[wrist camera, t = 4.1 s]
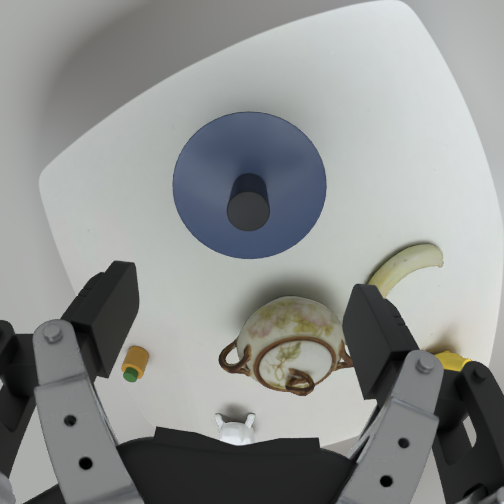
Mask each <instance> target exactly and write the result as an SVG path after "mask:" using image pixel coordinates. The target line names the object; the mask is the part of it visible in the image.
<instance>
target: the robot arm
mask: <svg viewBox="0 0 504 504" xmlns="http://www.w3.org/2000/svg"><path fill="white" fill-rule="evenodd" d="M138 309H139V291H138V282H137V273H136V266H135V264H134V263H133V262H124V261H113V262H112V264H111V265H110V266H109V268H108V269H107V270H106V272H105V273H104V272H100V273H98V274H97V275H95V276H94V277H92V278H91V279H90V280H89V281H88V282H87V283H86V285H85V286H84V287H83V289H82V290H81V291H80V292H79V294H78V296H76V298H75V299H74V300H73V302H72V303H71V305H70V306H69V307H68V309H67V310H66V312H65V313H64V314H63V315H62V317H61V319H55V320H50V321H47V322H44V323H43V324H41V325H40V326H39V327H38V328H37V329H36V330H35V332H34V334H15V332H14V329H13V327H12V325H11V324H10V323H9V322H8V321H4V320H0V379H1V380H2V382H3V386H2V388H1V390H0V504H15V502H16V500H15V496H14V495H13V493H12V492H13V491H12V486H11V483H10V482H9V480H8V479H9V476H10V473H11V470H12V467H13V464H14V461H15V458H16V455H17V452H18V449H19V447H20V444H21V441H22V439H23V436H24V433H25V431H26V428H27V426H28V423H29V421H30V418H31V416H32V414H33V411H34V409H35V407H36V405H37V410H38V414H39V419H40V423H41V427H42V431H43V435H44V439H45V443H46V446H47V450H48V453H49V456H50V460H51V463H52V466H53V469H54V472H55V475H56V478H57V481H58V484H56V485H55V486H53V487H51V488H50V489H48V490H46V491H44V492H43V493H41V494H39V495H38V496H36V497H34V498H32V499H30V500H29V501H27V502H25V503H23V504H410V502H411V500H412V498H413V495H414V493H415V491H416V488H417V486H418V483H419V481H420V478H421V476H422V473H423V470H424V468H425V464H426V462H427V459H428V456H429V453H430V450H431V447H432V450H433V454H434V457H435V461H436V465H437V468H438V472H439V476H440V480H441V484H442V488H443V493H444V497H445V501H446V504H504V395H503V393H502V391H501V389H500V387H499V385H498V384H497V382H496V380H495V378H494V376H493V374H492V373H491V371H490V370H489V369H488V368H487V367H486V366H485V365H483V364H482V363H480V362H477V361H469V362H467V363H465V365H464V366H463V368H462V369H461V371H460V372H459V371H454V370H448V369H443V366H442V364H441V362H440V361H439V359H438V358H437V357H436V356H434V355H433V354H431V353H429V352H427V351H423V350H420V349H419V347H418V345H417V343H416V342H415V340H414V338H413V336H412V334H411V333H410V331H409V329H408V327H407V326H405V322H404V320H403V318H401V315H400V313H399V311H398V310H397V308H396V307H395V306H394V305H393V304H392V303H391V302H390V301H389V300H387V299H384V298H383V297H382V295H381V293H380V291H379V290H378V288H377V286H376V285H368V284H355V286H354V287H353V290H352V293H351V296H350V299H349V302H348V305H347V308H346V311H345V314H344V317H343V323H342V329H343V334H344V337H345V340H346V343H347V346H348V349H349V353H350V356H351V359H352V362H353V365H354V368H355V372H356V375H357V378H358V381H359V385H360V388H361V391H362V395H363V398H364V400H368V399H376V400H377V403H378V404H377V405H376V407H375V408H374V410H373V412H372V414H371V415H370V417H369V419H368V421H367V423H366V425H365V427H364V428H363V430H362V432H361V434H360V436H359V437H358V439H357V441H356V443H355V444H354V446H353V447H352V449H351V450H350V452H349V453H348V455H347V456H346V457H345V456H343V455H341V454H338V453H336V452H334V451H330V450H327V449H323V448H320V444H319V438H279V439H274V440H269V441H264V442H258V443H253V444H247V445H233V444H230V443H226V442H223V441H220V440H217V439H214V438H210V437H207V436H204V435H202V434H199V433H196V432H188V431H181V430H175V429H168V428H163V427H157V426H156V431H155V435H154V437H144V438H138V439H134V440H130V441H127V442H125V443H122V444H120V443H119V441H118V439H117V437H116V435H115V433H114V431H113V429H112V427H111V425H110V423H109V420H108V418H107V416H106V413H105V411H104V408H103V406H102V404H101V401H100V399H99V396H98V393H97V391H96V388H95V386H94V381H95V379H96V377H97V376H99V377H104V378H109V375H110V373H111V371H112V368H113V366H114V364H115V362H116V359H117V357H118V355H119V352H120V350H121V348H122V346H123V344H124V341H125V339H126V337H127V335H128V333H129V330H130V328H131V326H132V324H133V322H134V320H135V318H136V316H137V313H138ZM468 416H470V419H471V421H472V424H473V426H474V429H475V431H476V435H477V438H476V443H475V445H474V447H473V448H472V446H471V443H470V441H469V438H468V435H467V432H466V430H465V427H464V425H463V421H464V420H465V419H466V418H467V417H468Z"/></svg>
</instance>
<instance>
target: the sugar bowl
mask: <svg viewBox="0 0 504 504" xmlns="http://www.w3.org/2000/svg"><path fill="white" fill-rule="evenodd" d="M345 344H346V345H347V343H346V340H345V337H344V334H343V329H342V324H341V322H340V320H339V319H338V317H337V316H336V315H335V314H334V312H332V311H331V310H330V309H329V308H328V307H326V306H324V305H323V304H321V303H319V302H316V301H314V300H310V299H307V298H303V297H297V296H284V297H280V298H277V299H274V300H272V301H271V302H269V303H267V304H266V305H264V306H262V307H261V308H259V309H258V310H257V311H256V312H255V313H253V314H252V315H251V317H250V318H249V319H248V320H247V321H246V323H245V324H244V326H243V327H242V329H241V331H240V334H239V336H238V337H237V339H235V340H234V341H233V342H232V343H231V344H229V345H228V346H227V347H226V348H224V349H223V350H222V352H221V353H220V355H219V364H220V366H221V367H222V368H223V369H224V370H226V371H227V372H229V373H239V374H245V375H246V376H251V377H252V378H253V379H254V380H256V381H257V382H259V383H261V384H262V385H263V386H265V387H267V388H270V389H273V390H276V391H282V392H291V393H293V394H296V395H299V396H306V395H308V394H309V393H311V392H312V391H313V390H314V387H315V385H317V384H319V383H320V382H322V381H323V380H324V379H326V378H327V377H328V376H329V375H330V374H331V372H332V371H336V370H338V369H342V368H350V367H354V365H353V362H352V359H351V357H350V356H349V355H348V354H347V353H346V351H345ZM235 347H237V352H238V357H239V360H240V361H239V362H238V363H236V364H228V363H227V362H226V360H225V359H226V356H227V355H228V353H229V352H230V351H231V350H232V349H234V348H235ZM341 358H342V359H343V360H344V361H345V362H340V360H341ZM339 362H340V363H339ZM242 367H243V368H242Z"/></svg>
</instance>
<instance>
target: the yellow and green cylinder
mask: <svg viewBox="0 0 504 504" xmlns="http://www.w3.org/2000/svg"><path fill="white" fill-rule="evenodd" d="M148 359H149V354H148V352H147V351H146V350H145V349H143V348H141V347H138V346H132V347H130V348H129V350H128V352H127V355H126V357H125V360H124V362H123V364H122V367H121V369H122V371H123V373H124V374H123V377H124V378H125V379H126V380H127V381H129V382H135V381H136V380H137V379H139V378H141V377H142V376H143V374H144V371H145V368H146V365H147V362H148Z"/></svg>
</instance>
